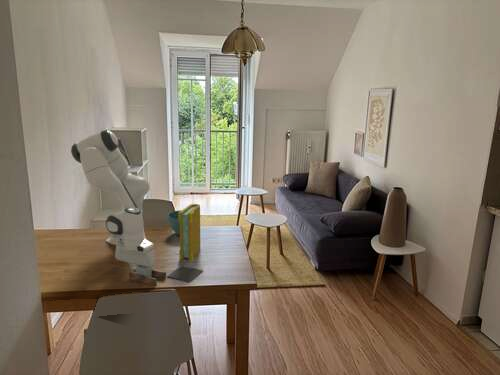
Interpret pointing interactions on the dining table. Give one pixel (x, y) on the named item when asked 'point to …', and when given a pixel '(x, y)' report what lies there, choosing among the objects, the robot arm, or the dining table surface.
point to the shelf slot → (148, 279)
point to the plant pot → (174, 221)
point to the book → (189, 231)
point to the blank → (144, 270)
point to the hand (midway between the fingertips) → (135, 271)
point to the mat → (185, 273)
